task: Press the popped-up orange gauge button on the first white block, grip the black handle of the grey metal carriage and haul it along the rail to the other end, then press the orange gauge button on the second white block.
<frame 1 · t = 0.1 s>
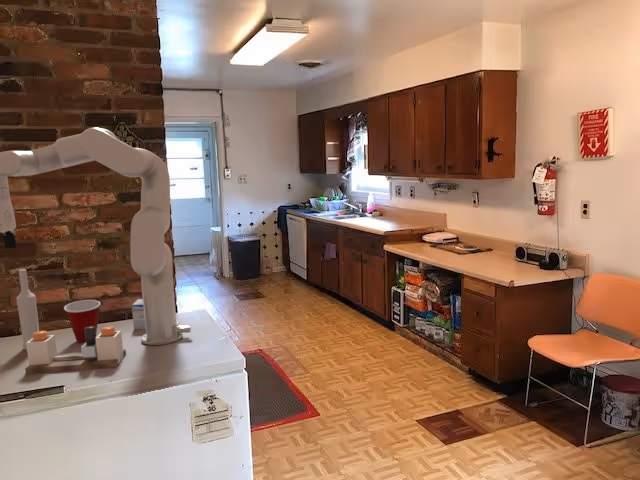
hand: (2, 250, 160), 31 cm above the freezer lid, tool pointing down, fingers open, 9 cm apart
gauge button a: (108, 331, 149), point 9 cm above the freezer lid, slide at 0.0 cm
carriage: (91, 340, 149), point 7 cm above the freezer lid, slide at -4.4 cm
gauge button b: (40, 336, 148), point 9 cm above the freezer lid, slide at 0.0 cm
rail board: (77, 363, 150), on the freezer lid
bottle: (32, 348, 165), on the freezer lid
pair of white blocks: (77, 363, 150), resting on rail board
medicine box: (143, 326, 183), on the freezer lid
plastic cup: (86, 340, 170), on the freezer lid
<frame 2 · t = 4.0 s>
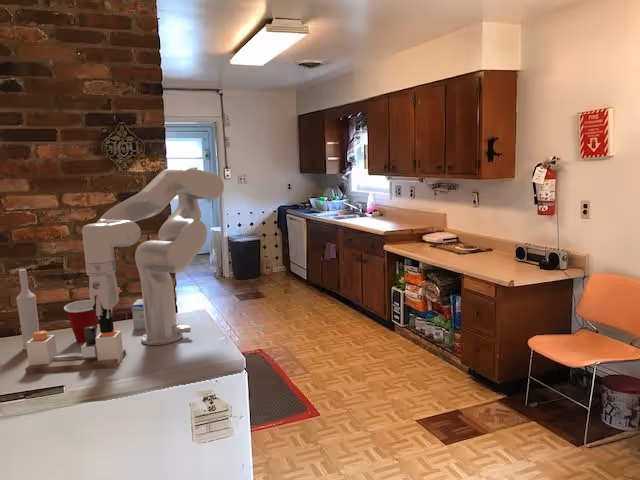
hand: (107, 331, 149), 9 cm above the freezer lid, tool pointing down, fingers closed
gauge button a: (108, 334, 149), point 8 cm above the freezer lid, slide at 0.9 cm, touching gripper
everything else where it was.
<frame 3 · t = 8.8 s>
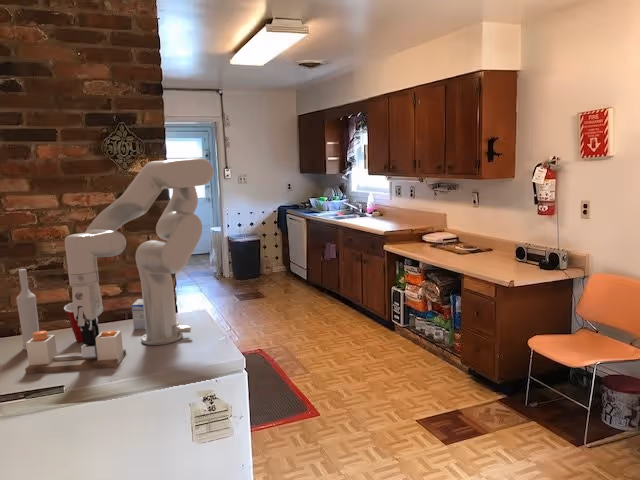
hand: (91, 340, 149), 6 cm above the freezer lid, tool pointing down, fingers closed on carriage, 2 cm apart
gauge button a: (108, 335, 149), point 8 cm above the freezer lid, slide at 1.2 cm
carriage: (91, 340, 149), point 7 cm above the freezer lid, slide at -4.4 cm, touching gripper
everything else where it was.
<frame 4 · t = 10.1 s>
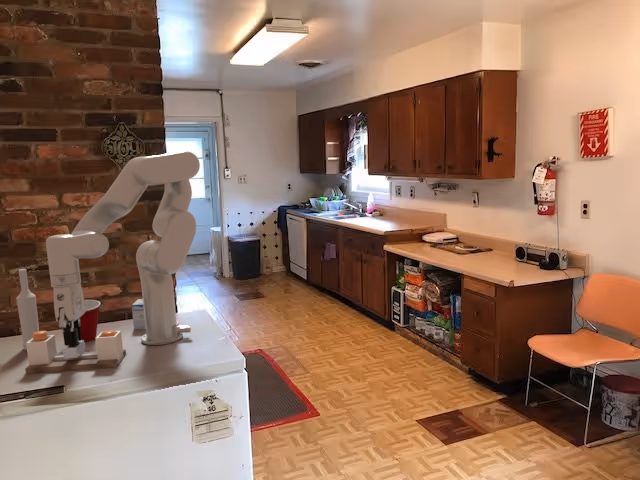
hand: (73, 342, 149), 6 cm above the freezer lid, tool pointing down, fingers closed on carriage, 2 cm apart
carriage: (73, 341, 149), point 7 cm above the freezer lid, slide at 0.5 cm, touching gripper
everything else where it was.
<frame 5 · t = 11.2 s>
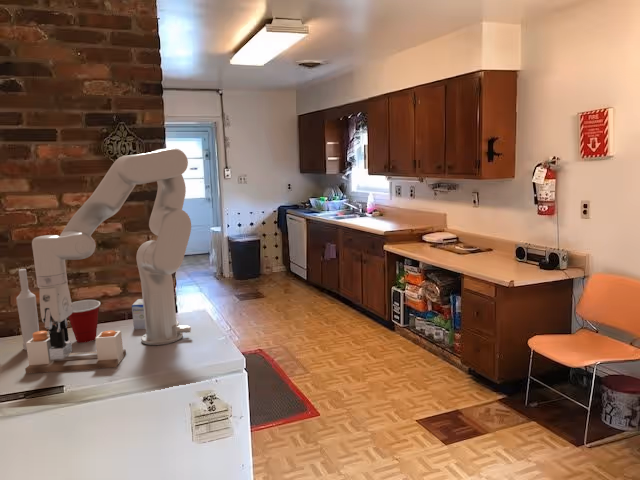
hand: (60, 343, 148), 6 cm above the freezer lid, tool pointing down, fingers closed on carriage, 2 cm apart
carriage: (59, 342, 148), point 7 cm above the freezer lid, slide at 4.2 cm, touching gripper
everything else where it was.
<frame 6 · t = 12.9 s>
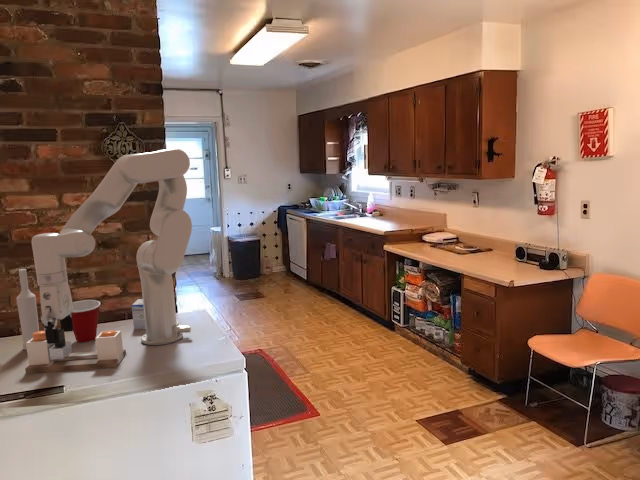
hand: (60, 336, 148), 8 cm above the freezer lid, tool pointing down, fingers open, 9 cm apart
carriage: (59, 342, 148), point 7 cm above the freezer lid, slide at 4.2 cm
everything else where it was.
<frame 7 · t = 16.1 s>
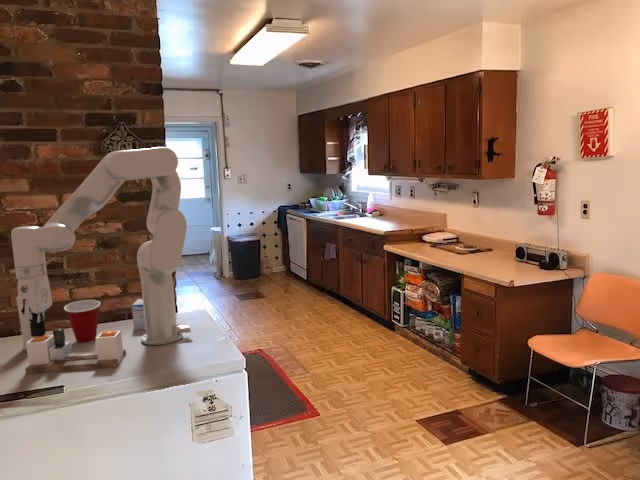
hand: (38, 335, 147), 9 cm above the freezer lid, tool pointing down, fingers closed
gauge button b: (40, 338, 148), point 8 cm above the freezer lid, slide at 0.7 cm, touching gripper
everything else where it was.
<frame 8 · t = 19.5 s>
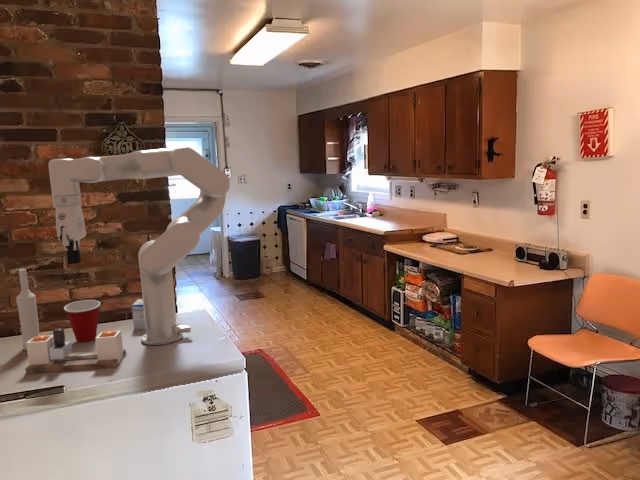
hand: (74, 263, 156), 27 cm above the freezer lid, tool pointing down, fingers closed
gauge button b: (40, 340, 148), point 8 cm above the freezer lid, slide at 1.2 cm
everything else where it was.
at the end: carriage slide at 4.2 cm; gauge button a slide at 1.2 cm; gauge button b slide at 1.2 cm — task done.
